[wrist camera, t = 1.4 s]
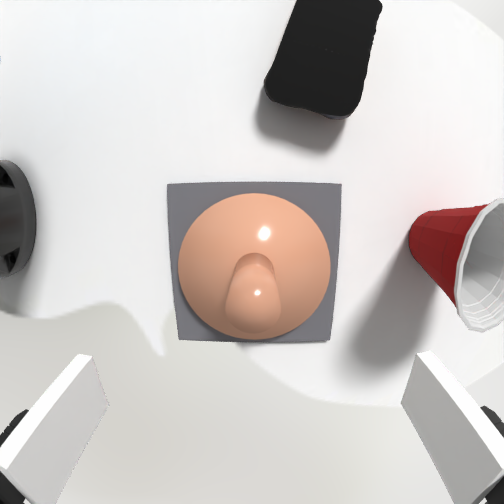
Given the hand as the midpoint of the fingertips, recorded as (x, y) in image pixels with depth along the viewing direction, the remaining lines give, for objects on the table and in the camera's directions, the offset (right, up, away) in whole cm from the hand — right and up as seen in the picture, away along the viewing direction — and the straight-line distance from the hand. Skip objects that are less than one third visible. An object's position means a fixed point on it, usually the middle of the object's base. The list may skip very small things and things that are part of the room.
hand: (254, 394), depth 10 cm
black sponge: (+7, +26, +13) cm, 30 cm away
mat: (0, +4, +18) cm, 19 cm away
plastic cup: (+19, +7, +17) cm, 27 cm away
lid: (0, +4, +18) cm, 18 cm away
